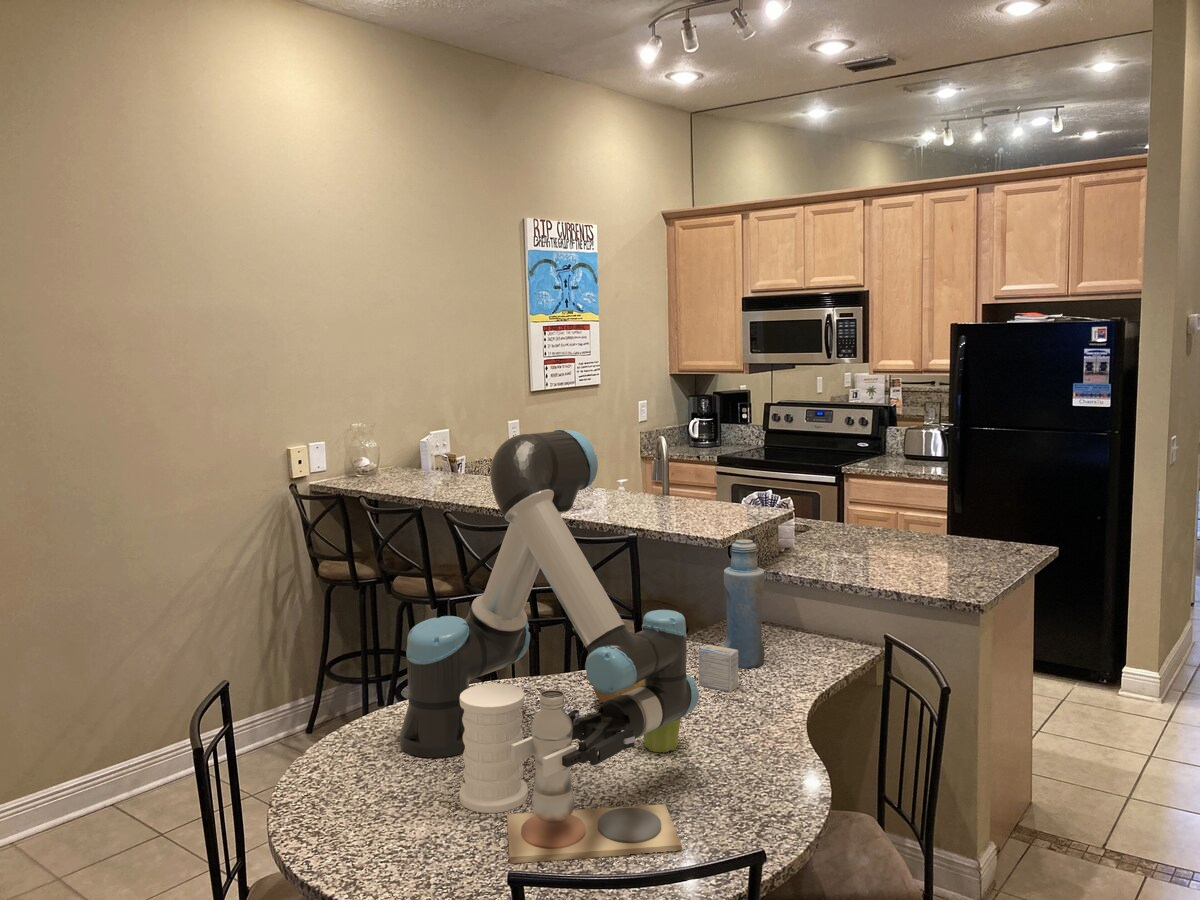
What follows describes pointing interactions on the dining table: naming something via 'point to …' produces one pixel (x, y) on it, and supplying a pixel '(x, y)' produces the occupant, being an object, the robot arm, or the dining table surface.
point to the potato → (605, 697)
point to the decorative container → (492, 748)
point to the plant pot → (663, 737)
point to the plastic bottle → (549, 737)
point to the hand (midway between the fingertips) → (528, 760)
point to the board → (592, 834)
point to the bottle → (744, 604)
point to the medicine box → (718, 667)
